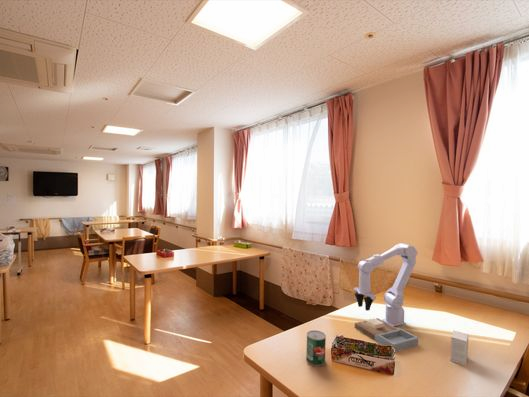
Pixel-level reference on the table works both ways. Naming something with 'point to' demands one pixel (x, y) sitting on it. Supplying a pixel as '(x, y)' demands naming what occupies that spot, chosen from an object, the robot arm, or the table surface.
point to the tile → (374, 323)
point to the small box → (459, 348)
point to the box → (397, 339)
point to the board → (371, 331)
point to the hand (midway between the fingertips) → (363, 308)
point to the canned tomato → (316, 348)
